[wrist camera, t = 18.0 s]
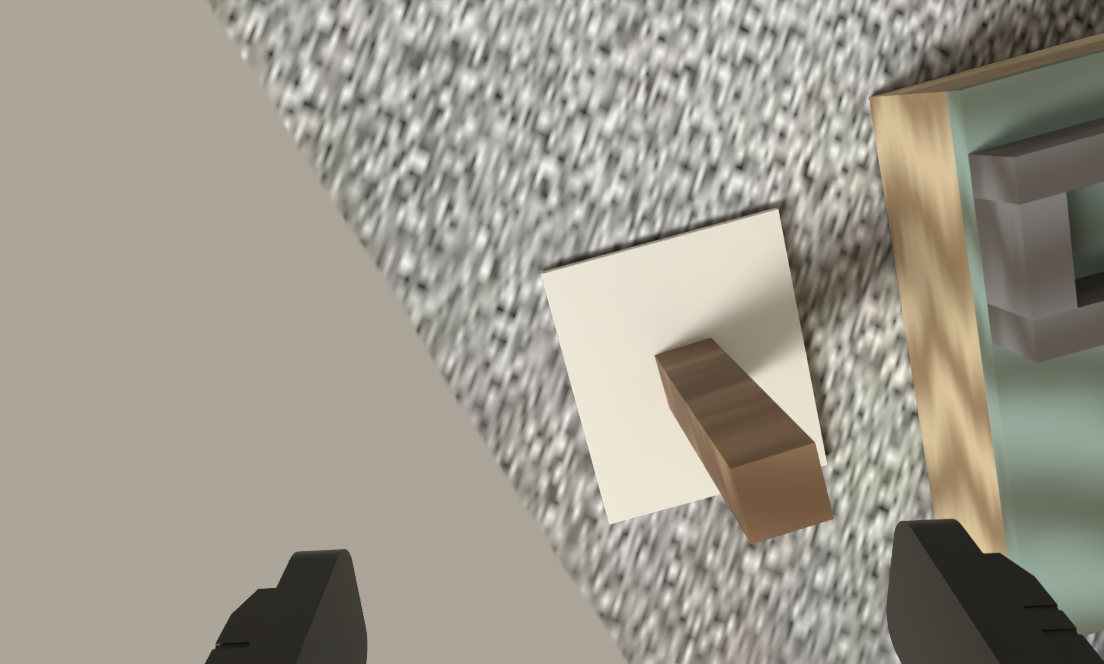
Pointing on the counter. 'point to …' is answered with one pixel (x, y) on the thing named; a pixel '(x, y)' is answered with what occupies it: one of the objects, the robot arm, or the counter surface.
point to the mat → (668, 323)
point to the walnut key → (745, 442)
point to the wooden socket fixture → (1008, 303)
